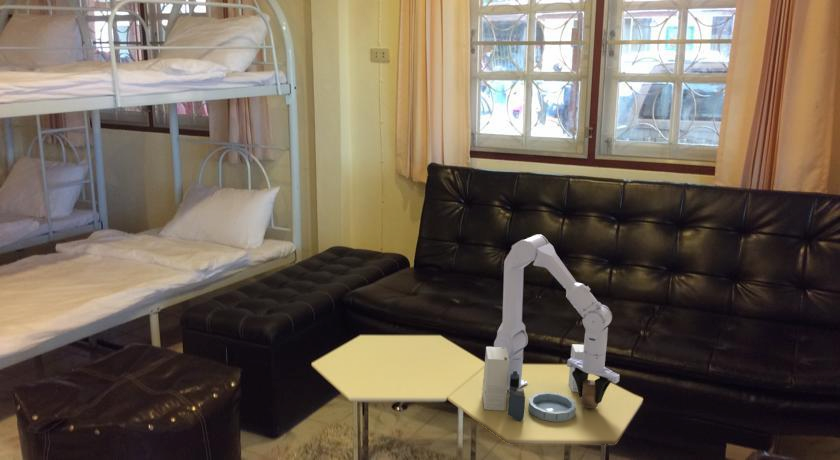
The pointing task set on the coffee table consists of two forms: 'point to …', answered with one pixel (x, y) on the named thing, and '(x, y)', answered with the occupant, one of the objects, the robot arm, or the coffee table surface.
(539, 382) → the coffee table surface
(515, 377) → the vaping device
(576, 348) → the skincare box
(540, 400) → the round tray
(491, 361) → the skincare box
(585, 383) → the brown cylinder
